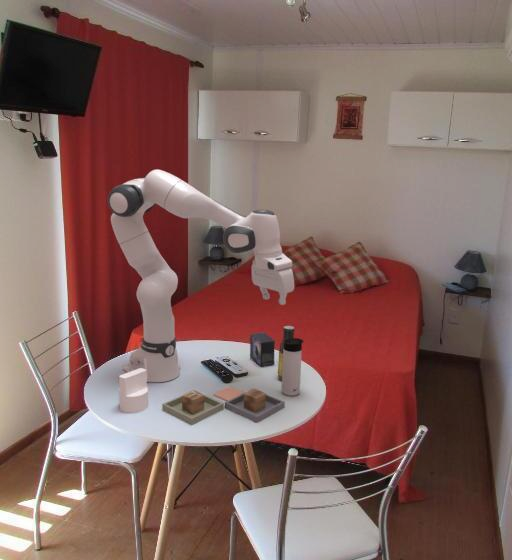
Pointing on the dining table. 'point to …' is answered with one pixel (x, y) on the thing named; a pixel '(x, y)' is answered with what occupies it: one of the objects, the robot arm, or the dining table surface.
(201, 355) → the dining table surface
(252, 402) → the plain block
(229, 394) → the terracotta tile
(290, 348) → the travel mug
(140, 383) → the cylinder with rectangular tab
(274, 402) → the tray charcoal
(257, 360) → the small box
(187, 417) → the tray olive
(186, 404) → the letter cube
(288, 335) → the sauce bottle
